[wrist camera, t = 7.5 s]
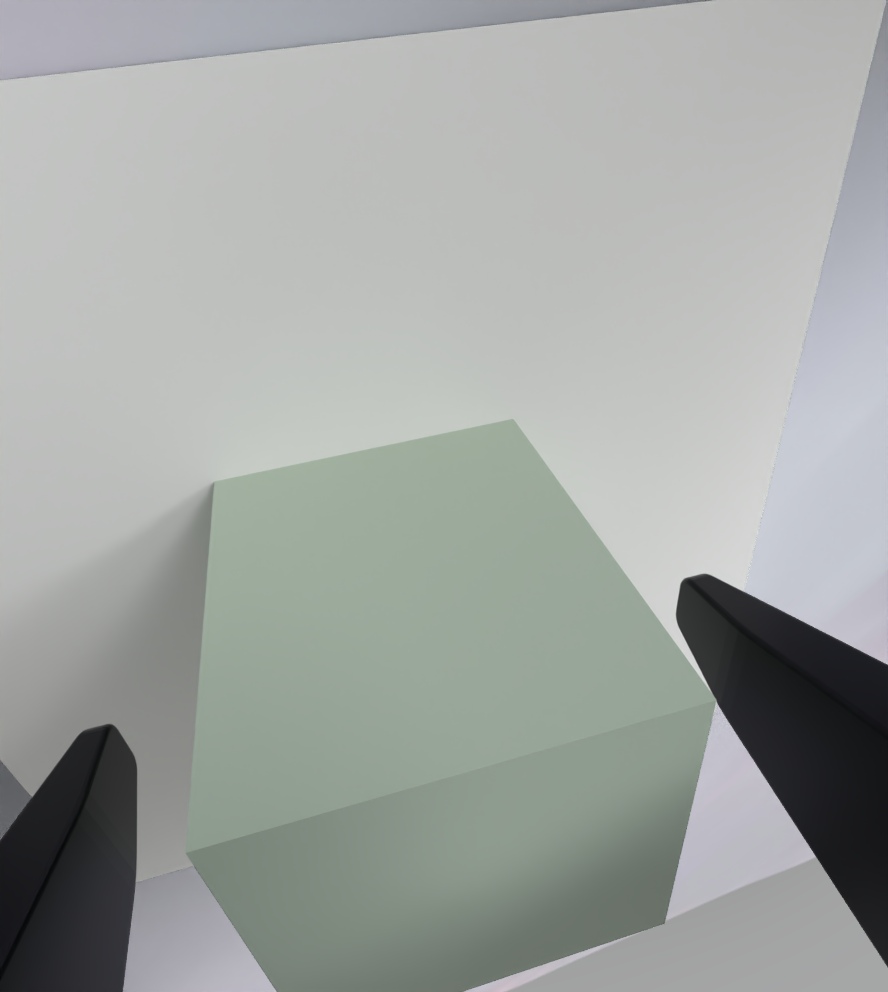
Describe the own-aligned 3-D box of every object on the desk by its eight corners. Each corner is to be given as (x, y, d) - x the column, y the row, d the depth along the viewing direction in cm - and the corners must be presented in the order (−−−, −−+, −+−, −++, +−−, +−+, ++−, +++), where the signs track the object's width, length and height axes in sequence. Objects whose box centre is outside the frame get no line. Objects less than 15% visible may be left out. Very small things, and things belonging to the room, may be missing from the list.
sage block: (513, 418, 11) (716, 700, 6) (521, 623, 14) (664, 923, 9) (214, 481, 10) (184, 852, 6) (287, 683, 13) (310, 1042, 8)
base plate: (791, -9, 10) (892, -21, 9) (675, 661, 20) (713, 716, 18) (-368, 121, 8) (-523, 138, 6) (122, 812, 17) (109, 890, 16)
